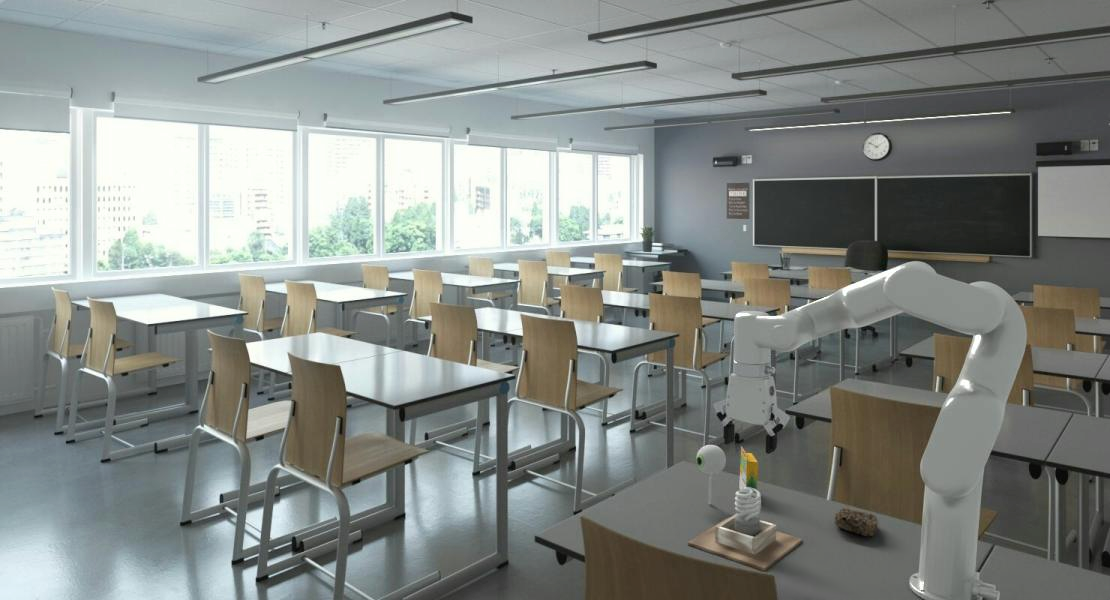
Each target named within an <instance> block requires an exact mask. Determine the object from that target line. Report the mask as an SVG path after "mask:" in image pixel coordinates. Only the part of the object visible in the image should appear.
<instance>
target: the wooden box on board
mask: <svg viewBox="0 0 1110 600" xmlns="http://www.w3.org/2000/svg"><path fill="white" fill-rule="evenodd" d="M737 514H739V512H737V513H735V514H734V515H732V516H728V517H726V518H725V519H723V520H721V521H720V522H719V523H716V525H714V526H712V527H710V528H709V529H707V530H705V531H704V532H703V533H701V534H699V535H697V536H695V537H694V538H693V539H691V540H690V541H688V543H687V545H688V546H691V547H692V548H696V549H699V550H701V551H704V552H708V553H710V554H714V555H717V556H720V557H723V558H726V559H728V560H731V559H732V561H734V562H737V563H740V564H743V565H746V566H749V567H752V568H755V569H757V570H760V571H763V572H765V571H766V570H768V569H769V568H770V567H772V566H773V565H774V564H775V563H777V562H778V561H779V560H781V559H782V558H784V556H786V555H787V554H789V552H791V551H792V550H793V549H795V548H796V547H797V546H799V545H800V544H801V543H802V542H803V538H800V537H798V536H794V535H791V534H788V533H783V532H781V531H777V524H774V523H772V522H768V521H764V520H760V526H759V531H758V533H757V534H754V535H753V537H752V536H749V535H746V534H743V533H739V532H737V531H736V529H735V516H736V515H737Z"/></svg>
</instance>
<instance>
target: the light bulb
mask: <svg viewBox="0 0 1110 600" xmlns="http://www.w3.org/2000/svg"><path fill="white" fill-rule="evenodd" d="M753 492H755V493H756V494H755V493H753ZM744 494H746V495H744ZM751 496H753V497H755V498H753V497H751ZM761 498H762V494H761V492H760V491H759V490H758V489H757V490H756V489H754V488H750V487H744V491H740V490H737V491H736V492H735V497H734V500H735V502H734V505H735V507H734V509H735V511H736V512H737V513H738V514H737V515H736V516H735V529H736V531H737V532H739V533H743V534H746V535H749V536H752V537H753V535H754V534H757V533H758V531H759V526H760V517H759V514H760V513H761V509H762V504H761V503H762V499H761Z"/></svg>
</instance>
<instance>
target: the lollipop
mask: <svg viewBox="0 0 1110 600" xmlns="http://www.w3.org/2000/svg"><path fill="white" fill-rule="evenodd" d="M726 457H727V456H726V454H725V452H724V451H723V449H722V448H721V447H719V446H718V445H715V444H707V445H704V446H702V447H700V449H699V450H698V451H697V454H696V458H695V461H696V464H697V467H698V468H699V470H701V472H703V473H704V474H707V475H709V476H708V478H709V479H708V505H712V497H713V496H712V495H713V494H712V492H713V491H712V490H713V485H712V484H713V475H717V474H718V473H721V472H722V471H723V469H724V468H725V467H726V464H727V463H726V462H727V458H726Z"/></svg>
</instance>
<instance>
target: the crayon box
mask: <svg viewBox="0 0 1110 600" xmlns="http://www.w3.org/2000/svg"><path fill="white" fill-rule="evenodd" d="M739 464H740V465H739V466H740V467H739V468H740V469H739V484H738V485H739V486H738V487H739V489H738V490H739V491H744V487H750V488H754V489H756V490H758V476H759V475H758V472H759V470H758V469H759V462H758V460H757V459H756V458H755V456H754V454H753V453H752V452H746V451H745V449H744V448H743V446H741V445H740V463H739ZM753 493H755V492H753ZM755 494H756V493H755ZM744 495H746V494H744ZM751 497H753V496H751ZM753 498H755V497H753Z"/></svg>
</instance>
